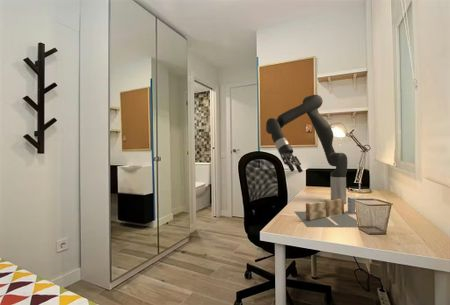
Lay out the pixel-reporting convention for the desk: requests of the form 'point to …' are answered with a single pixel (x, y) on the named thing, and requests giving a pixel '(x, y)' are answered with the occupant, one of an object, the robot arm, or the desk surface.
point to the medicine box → (352, 204)
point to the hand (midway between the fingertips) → (297, 171)
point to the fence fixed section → (334, 207)
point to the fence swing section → (315, 210)
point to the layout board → (329, 221)
